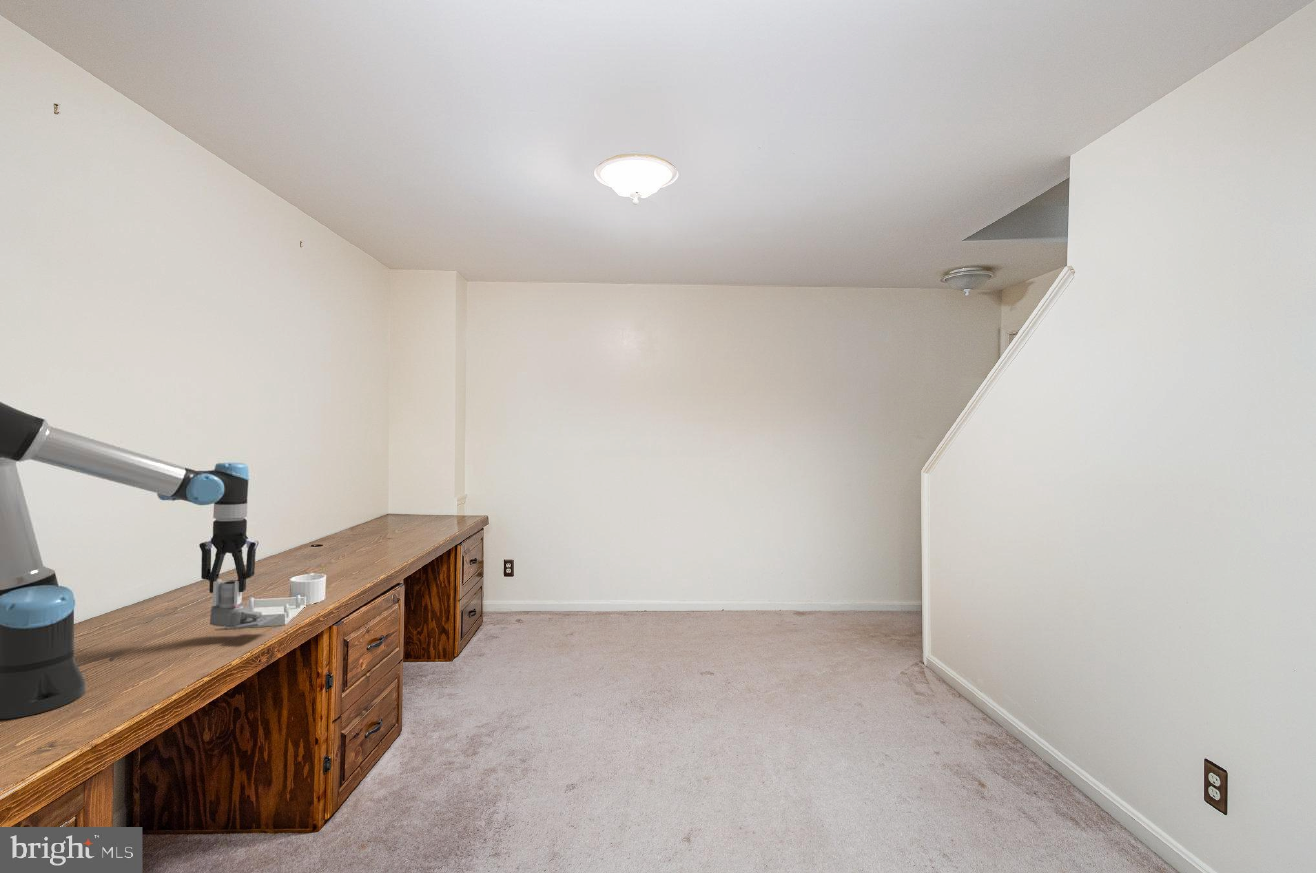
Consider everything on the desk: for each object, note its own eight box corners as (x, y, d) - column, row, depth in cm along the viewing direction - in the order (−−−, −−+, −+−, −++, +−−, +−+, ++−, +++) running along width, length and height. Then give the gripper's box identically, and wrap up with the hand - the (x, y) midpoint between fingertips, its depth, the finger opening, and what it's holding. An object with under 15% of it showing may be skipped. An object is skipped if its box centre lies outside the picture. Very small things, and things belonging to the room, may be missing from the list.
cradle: (285, 625, 173) (285, 608, 173) (226, 628, 170) (226, 611, 170) (305, 607, 191) (305, 591, 191) (253, 609, 187) (253, 594, 187)
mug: (323, 604, 194) (323, 580, 194) (286, 607, 190) (286, 582, 190) (329, 593, 206) (329, 570, 206) (294, 596, 203) (294, 573, 202)
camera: (229, 576, 167) (282, 582, 167) (225, 617, 167) (278, 623, 167) (206, 584, 158) (262, 590, 158) (201, 628, 158) (257, 634, 158)
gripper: (271, 517, 167) (268, 599, 167) (200, 517, 163) (197, 601, 163) (260, 520, 160) (257, 606, 160) (186, 520, 156) (182, 609, 156)
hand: (227, 603), depth 161 cm, fingers closed on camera, 4 cm apart
